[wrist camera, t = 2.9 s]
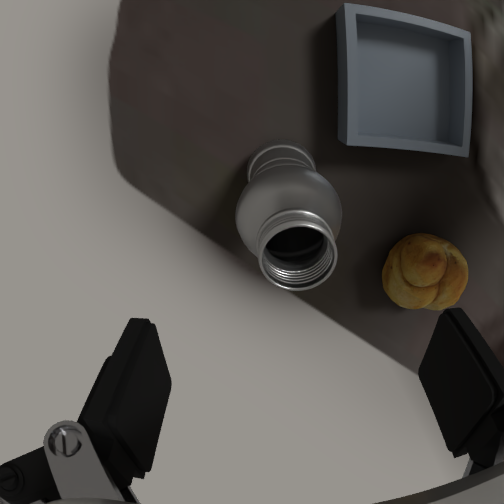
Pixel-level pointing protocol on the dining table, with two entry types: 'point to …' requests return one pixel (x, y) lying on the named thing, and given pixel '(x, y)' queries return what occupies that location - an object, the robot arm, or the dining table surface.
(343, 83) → the tray
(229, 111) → the dining table surface
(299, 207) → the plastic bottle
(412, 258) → the bread roll
